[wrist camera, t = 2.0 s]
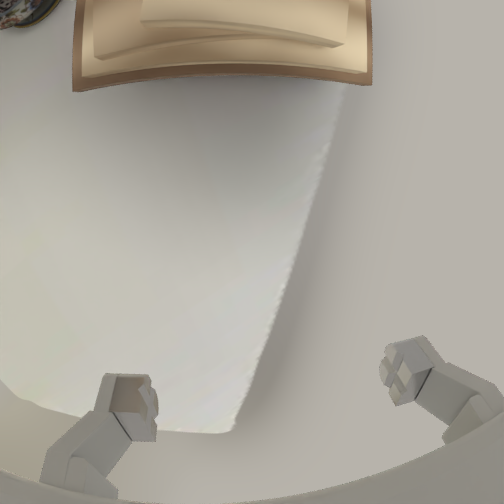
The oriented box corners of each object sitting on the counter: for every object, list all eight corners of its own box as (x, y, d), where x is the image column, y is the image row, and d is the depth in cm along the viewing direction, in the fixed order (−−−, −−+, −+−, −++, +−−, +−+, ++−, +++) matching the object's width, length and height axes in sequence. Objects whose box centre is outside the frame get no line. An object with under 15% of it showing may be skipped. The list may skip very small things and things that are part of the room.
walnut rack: (307, 89, 33) (372, 85, 19) (124, 95, 30) (72, 91, 16) (307, 2, 27) (366, -43, 14) (126, 4, 24) (84, -46, 11)
